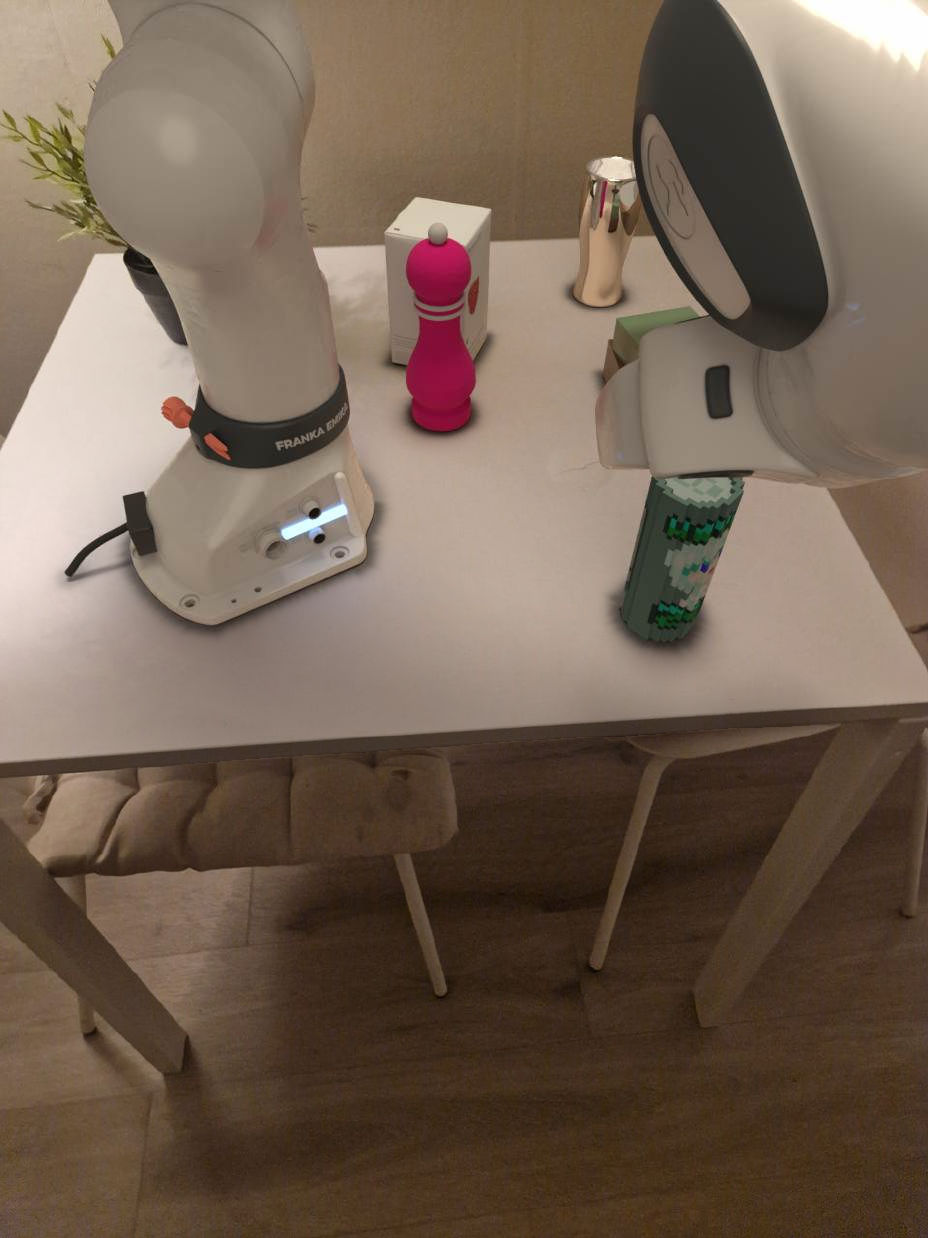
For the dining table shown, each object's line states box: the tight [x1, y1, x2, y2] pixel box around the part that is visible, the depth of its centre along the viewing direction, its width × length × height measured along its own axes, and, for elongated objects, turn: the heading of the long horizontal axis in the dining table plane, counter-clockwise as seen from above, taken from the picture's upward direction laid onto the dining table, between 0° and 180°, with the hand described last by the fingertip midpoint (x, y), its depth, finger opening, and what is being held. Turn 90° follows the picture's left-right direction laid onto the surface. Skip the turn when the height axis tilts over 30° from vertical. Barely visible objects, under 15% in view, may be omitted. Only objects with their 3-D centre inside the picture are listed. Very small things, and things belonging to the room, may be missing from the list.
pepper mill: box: [405, 222, 477, 432], centre depth 77 cm, size 7×7×20 cm
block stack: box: [602, 305, 701, 384], centre depth 84 cm, size 10×10×8 cm
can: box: [619, 476, 746, 644], centre depth 62 cm, size 6×6×15 cm
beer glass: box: [572, 155, 642, 308], centre depth 95 cm, size 7×7×15 cm
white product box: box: [383, 196, 492, 366], centre depth 87 cm, size 9×9×15 cm
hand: (757, 429), depth 47 cm, fingers open, 8 cm apart
